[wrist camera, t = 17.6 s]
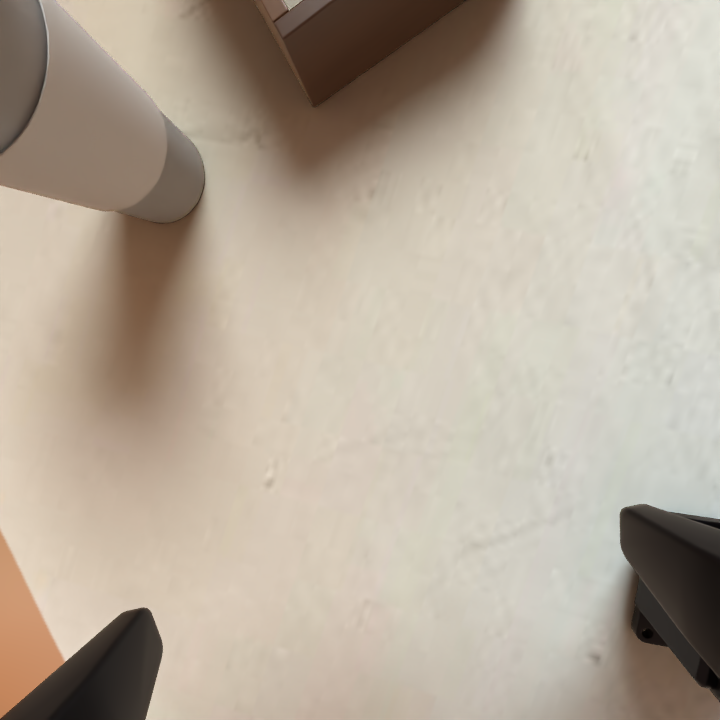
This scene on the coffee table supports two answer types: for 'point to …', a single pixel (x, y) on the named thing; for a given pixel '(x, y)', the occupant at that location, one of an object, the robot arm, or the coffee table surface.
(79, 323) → the coffee table surface
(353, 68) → the box
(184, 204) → the cup
